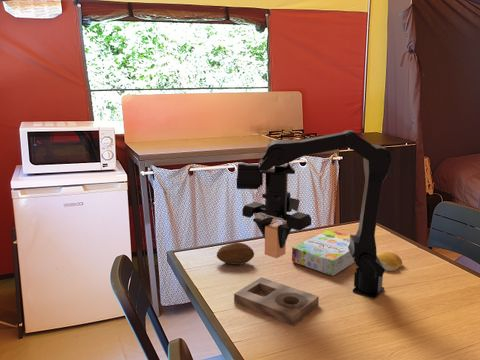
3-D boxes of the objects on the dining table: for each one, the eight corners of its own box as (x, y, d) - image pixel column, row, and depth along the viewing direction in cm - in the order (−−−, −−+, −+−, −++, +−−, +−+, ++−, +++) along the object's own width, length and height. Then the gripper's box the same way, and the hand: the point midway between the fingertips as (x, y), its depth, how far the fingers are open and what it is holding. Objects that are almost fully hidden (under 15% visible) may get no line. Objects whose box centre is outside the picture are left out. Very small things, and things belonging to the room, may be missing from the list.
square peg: (285, 253, 122) (286, 225, 120) (276, 258, 119) (277, 229, 117) (273, 250, 124) (273, 222, 122) (264, 254, 121) (265, 226, 119)
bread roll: (405, 264, 138) (406, 252, 137) (392, 274, 132) (393, 261, 131) (380, 257, 144) (381, 245, 143) (366, 266, 138) (367, 254, 137)
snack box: (291, 263, 140) (333, 277, 130) (291, 246, 139) (333, 259, 129) (328, 244, 155) (368, 254, 145) (328, 228, 154) (369, 238, 144)
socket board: (318, 305, 115) (318, 296, 114) (293, 325, 106) (293, 316, 105) (261, 285, 126) (261, 277, 125) (234, 302, 117) (234, 293, 116)
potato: (216, 260, 143) (215, 239, 141) (252, 258, 144) (252, 237, 142) (217, 269, 136) (216, 247, 135) (255, 267, 138) (255, 245, 136)
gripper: (323, 189, 117) (320, 245, 121) (265, 178, 129) (265, 229, 133) (300, 198, 109) (298, 258, 113) (241, 186, 120) (241, 240, 124)
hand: (275, 245), depth 121 cm, fingers closed on square peg, 4 cm apart
